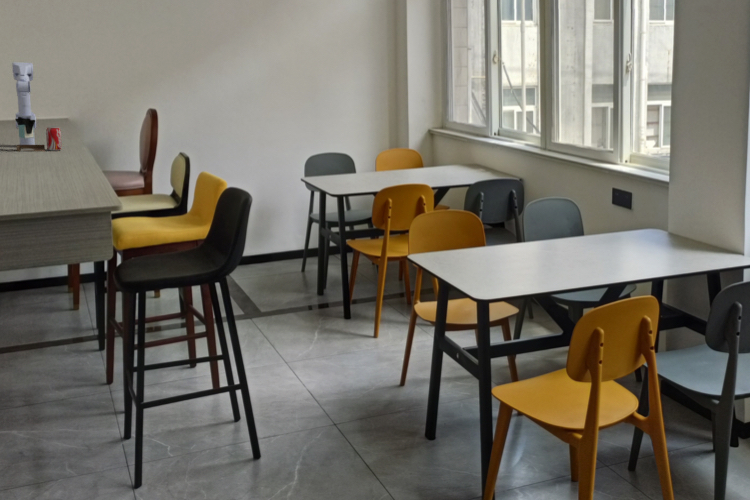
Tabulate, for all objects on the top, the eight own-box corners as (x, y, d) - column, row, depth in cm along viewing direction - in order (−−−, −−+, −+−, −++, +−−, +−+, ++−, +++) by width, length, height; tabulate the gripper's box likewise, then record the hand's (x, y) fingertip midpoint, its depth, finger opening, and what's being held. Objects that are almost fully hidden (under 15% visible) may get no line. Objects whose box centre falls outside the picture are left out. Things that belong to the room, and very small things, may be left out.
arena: (17, 149, 390) (16, 144, 390) (44, 149, 395) (44, 144, 395) (16, 151, 383) (16, 146, 383) (44, 151, 388) (44, 146, 388)
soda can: (56, 151, 390) (55, 127, 387) (44, 150, 391) (42, 126, 388) (64, 150, 396) (63, 126, 393) (52, 149, 398) (51, 125, 395)
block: (19, 137, 386) (18, 125, 384) (28, 136, 390) (27, 124, 388) (24, 138, 383) (23, 126, 381) (34, 137, 387) (33, 125, 385)
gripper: (40, 106, 381) (41, 134, 385) (24, 104, 390) (26, 131, 393) (26, 107, 376) (28, 134, 379) (10, 104, 384) (12, 132, 387)
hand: (26, 133), depth 386 cm, fingers closed on block, 5 cm apart
